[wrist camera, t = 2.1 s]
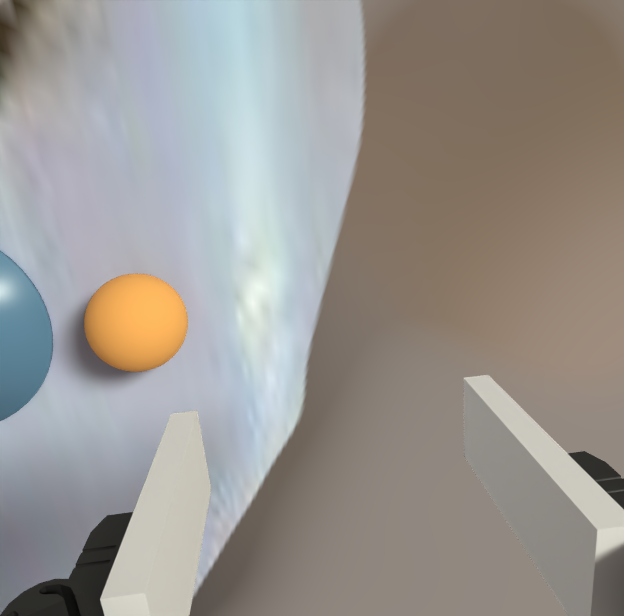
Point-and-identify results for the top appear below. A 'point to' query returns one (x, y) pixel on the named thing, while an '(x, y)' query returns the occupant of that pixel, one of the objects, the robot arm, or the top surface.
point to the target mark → (21, 338)
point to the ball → (135, 322)
